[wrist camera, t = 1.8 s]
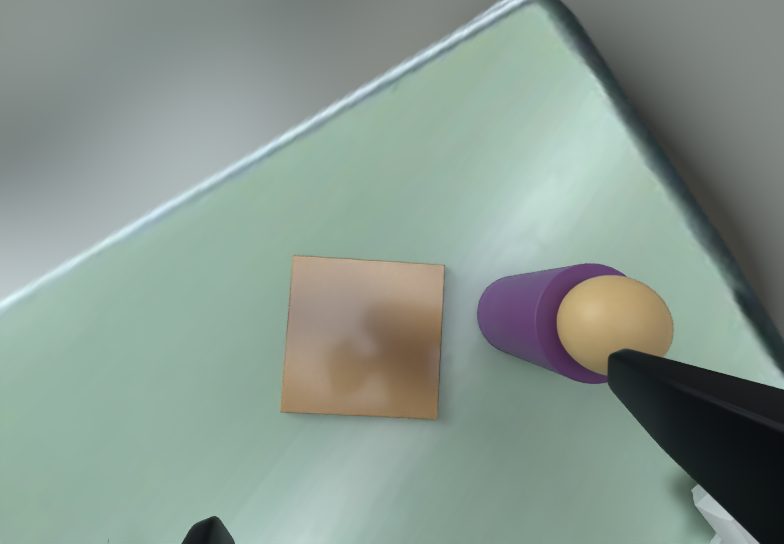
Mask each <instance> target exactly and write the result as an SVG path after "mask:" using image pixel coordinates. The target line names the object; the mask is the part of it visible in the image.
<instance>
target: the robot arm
mask: <svg viewBox="0 0 784 544" xmlns="http://www.w3.org/2000/svg"><path fill="white" fill-rule="evenodd" d="M607 382H608V385H609V387H610V389H611V390H612V392H613V393H614V394H615V395H616V396H617V397H618V399H619V400H620V401H621V402H622V403H623V404H624V405H625V407H626V408H627V409H628V410H629V411H630V412H631V414H632V415H633V416H634V417H635V418H636V419H637V421H638V422H639V423H640V424H641V425H642V426H643V427H644V429H645V430H646V431H647V432H648V433H649V434H650V436H651V437H652V438H653V439H654V440H655V441H656V442H657V443H658V444H659V446H660V447H661V448H662V449H663V450H664V451H665V452H666V453H667V454H668V455H669V456H670V457H671V458H672V459H673V460H674V461H675V462H676V463H677V464H678V465H679V466H680V467H681V468H682V469H684V470H685V471H686V472H687V473H688V474H689V475H690V476H691V477H692V478H693V479H694V480H695V481H696V482H697V483H698V484H699V485H700V486H701V487H702V488H703V489H704V490H705V491H706V492H707V493H708V494H709V495H710V496H711V497H712V498H713V499H714V500H715V501H716V502H717V503H718V504H719V505H720V506H721V507H723V508H724V509H725V510H726V511H727V512H728V513H729V514H730V515H731V516H732V517H733V518H734V519H735V520H736V521H737V522H738V523H739V524H740V525H741V526H742V527H743V528H744V529H745V530H746V531H747V532H748V533H749V534H750V535H751V536H752V537H753V538H754V539H755V540H756V541H757V542H758V543H759V544H784V390H783V389H779V388H775V387H772V386H768V385H764V384H760V383H757V382H753V381H749V380H745V379H742V378H738V377H734V376H730V375H726V374H723V373H719V372H715V371H711V370H708V369H704V368H700V367H696V366H693V365H689V364H685V363H681V362H678V361H674V360H670V359H666V358H662V357H659V356H655V355H651V354H647V353H644V352H640V351H636V350H632V349H628V348H624V349H620V350H618V351H616V352H613V353H611V354H610V355H609V356H608V367H607ZM182 544H235V542H234V540H233V538H232V536H231V535H230V533H229V532H228V530H227V529H226V527H225V526H224V524H223V523H222V522H221V520H220V519H219V518H218V517H216V516H212V517H210V518H207V519H205V520H202V521H200V522H198V523H196V524H194V525H193V526H192V528H191V529H190V530H189V532H188V534H187V535H186V537H185V539H184V540H183V542H182Z"/></svg>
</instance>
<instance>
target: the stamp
mask: <svg viewBox="0 0 784 544" xmlns="http://www.w3.org/2000/svg"><path fill="white" fill-rule="evenodd" d="M691 491H692V493H693V501H694V502H695V506H696V507H697V509H698V510H699V511H700V512H701V514H702V515H703V516H704V518H705V519H706V520H707V521H708V523H709V524H710V525H711V527H712V528H713V529H714V530H715V532H716V534H715V536H714V537H713V539H712V540H711V542H710V543H709V544H759V543H758V542H757V541H756V540H755V539H754V538H753V537H752V536H751V535H750V534H749V533H748V532H747V531H746V530H745V529H744V528H743V527H742V526H741V525H740V524H739V523H738V522H737V521H736V520H735V519H734V518H733V517H732V516H731V515H730V514H729V513H728V512H727V511H726V510H725V509H724V508H723V507H721V506H720V505H719V504H718V503H717V502H716V501H715V500H714V499H713V498H712V497H711V496H710V495H709V494H708V493H707V492H706V491H705V490H704V489H703V488H702V487H701V486H700V485H699V484H697V485H696V486H695V487H694V488H693V489H692V490H691Z"/></svg>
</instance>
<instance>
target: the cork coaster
mask: <svg viewBox="0 0 784 544" xmlns="http://www.w3.org/2000/svg"><path fill="white" fill-rule="evenodd" d="M444 272H445V265H437V264H421V263H406V262H390V261H375V260H359V259H343V258H328V257H312V256H297V255H293V262H292V275H291V287H290V300H289V312H288V325H287V337H286V350H285V362H284V375H283V387H282V400H281V412H291V413H312V414H334V415H355V416H377V417H399V418H420V419H437V415H438V394H439V374H440V353H441V333H442V313H443V292H444Z"/></svg>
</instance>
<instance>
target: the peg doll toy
mask: <svg viewBox="0 0 784 544" xmlns="http://www.w3.org/2000/svg"><path fill="white" fill-rule="evenodd" d="M477 314H478V323H479V326H480V329H481V331H482V333H483V335H484V337H485V338H486V339H487V341H488V342H489V343H490V344H492V345H493V346H494V347H496V348H497V349H499V350H501V351H504V352H506V353H509V354H511V355H514V356H516V357H518V358H521V359H523V360H526V361H528V362H531V363H533V364H536V365H538V366H541V367H543V368H546V369H548V370H550V371H553V372H555V373H558V374H560V375H563V376H565V377H568V378H570V379H573V380H575V381H578V382H582V383H589V384H600V383H606V382H607V367H608V356H609V355H610V354H611V353H613V352H616V351H618V350H620V349H624V348H628V349H632V350H636V351H640V352H644V353H647V354H651V355H655V356H659V357H662V358H663V357H664V356H665V355H666V353H667V352H668V350H669V348H670V346H671V343H672V339H673V331H674V328H673V320H672V316H671V313H670V311H669V309H668V307H667V305H666V304H665V302H664V301H663V299H662V298H661V297H660V296H659V295H658V294H657V293H656V292H655V291H654V290H653V289H651V288H650V287H649V286H647V285H645V284H644V283H642V282H639V281H637V280H635V279H632V278H628V277H627V276H625V275H624V274H623V273H621V272H619V271H617V270H616V269H613V268H611V267H608V266H605V265H601V264H579V265H573V266H567V267H561V268H555V269H549V270H543V271H537V272H532V273H526V274H520V275H514V276H508V277H504V278H501V279H499V280H497V281H495V282H494V283H492V284H491V285H490V286H489V287H488V288H487V289H486V290H485V292H484V293H483V295H482V297H481V299H480V301H479V305H478V312H477Z"/></svg>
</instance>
